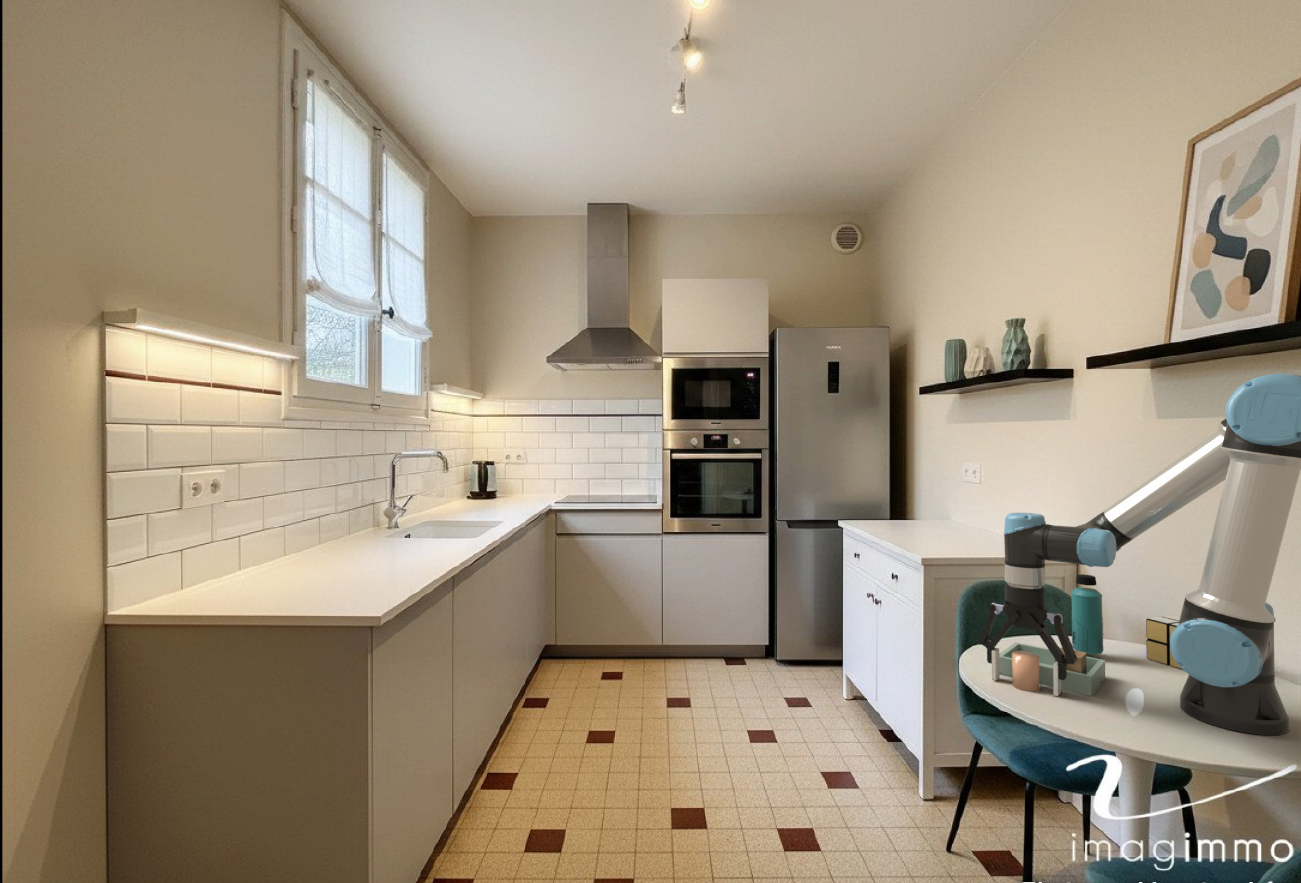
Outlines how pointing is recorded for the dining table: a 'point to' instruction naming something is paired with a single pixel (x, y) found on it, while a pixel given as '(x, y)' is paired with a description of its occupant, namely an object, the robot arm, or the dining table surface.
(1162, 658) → the puzzle cube
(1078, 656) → the walnut cube
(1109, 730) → the dining table surface
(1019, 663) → the peach rounded smooth part
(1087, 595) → the beverage bottle
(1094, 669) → the tray
